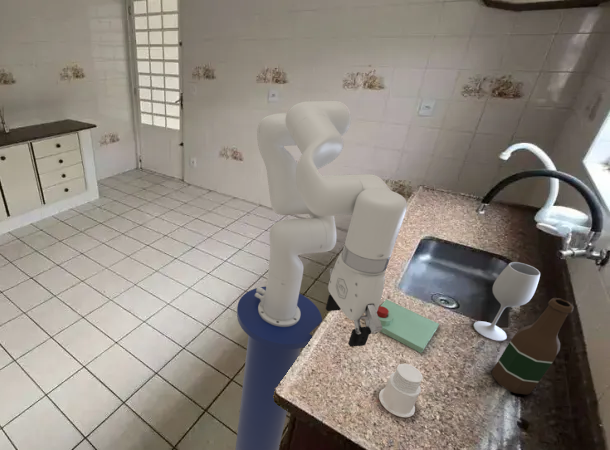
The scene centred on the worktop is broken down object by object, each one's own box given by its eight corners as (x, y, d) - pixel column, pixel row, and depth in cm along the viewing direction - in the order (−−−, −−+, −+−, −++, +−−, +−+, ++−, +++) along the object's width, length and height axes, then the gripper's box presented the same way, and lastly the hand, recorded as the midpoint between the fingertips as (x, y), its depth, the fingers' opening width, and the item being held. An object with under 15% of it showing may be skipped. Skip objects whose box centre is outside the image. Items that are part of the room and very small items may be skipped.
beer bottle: (536, 402, 78) (596, 321, 66) (492, 386, 81) (542, 306, 70) (528, 376, 83) (582, 298, 72) (488, 362, 87) (533, 286, 76)
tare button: (373, 314, 98) (374, 309, 97) (377, 309, 100) (379, 304, 99) (384, 319, 96) (386, 315, 95) (388, 314, 98) (390, 309, 97)
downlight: (403, 426, 73) (418, 395, 68) (371, 401, 78) (383, 370, 73) (421, 405, 77) (436, 374, 72) (389, 382, 82) (401, 352, 77)
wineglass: (487, 342, 93) (523, 278, 83) (466, 321, 99) (496, 260, 90) (514, 341, 93) (554, 277, 83) (491, 320, 100) (525, 259, 90)
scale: (362, 322, 99) (365, 313, 98) (381, 301, 107) (384, 292, 105) (421, 353, 90) (425, 343, 88) (437, 328, 97) (441, 319, 96)
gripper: (323, 233, 70) (309, 299, 78) (371, 289, 55) (347, 362, 63) (359, 231, 71) (341, 297, 79) (416, 286, 55) (386, 359, 64)
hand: (344, 326), depth 71 cm, fingers open, 9 cm apart
